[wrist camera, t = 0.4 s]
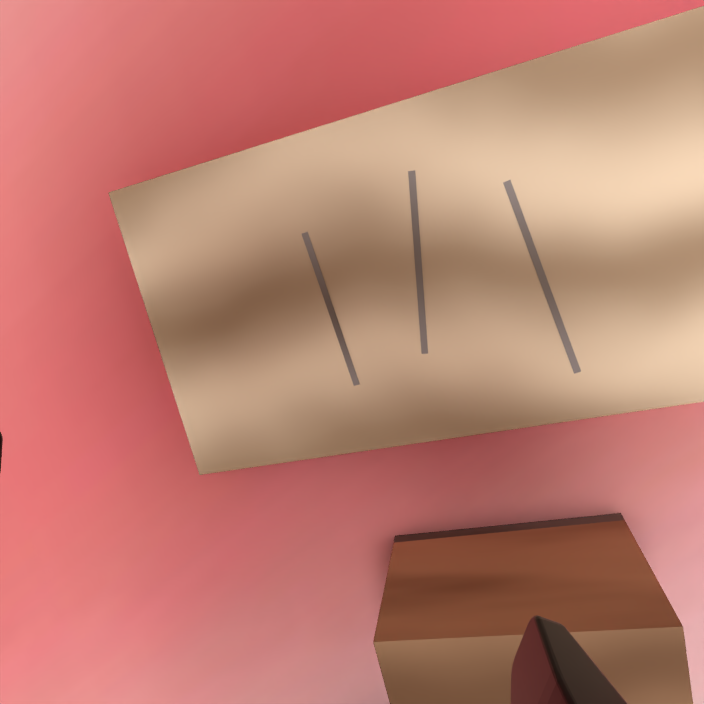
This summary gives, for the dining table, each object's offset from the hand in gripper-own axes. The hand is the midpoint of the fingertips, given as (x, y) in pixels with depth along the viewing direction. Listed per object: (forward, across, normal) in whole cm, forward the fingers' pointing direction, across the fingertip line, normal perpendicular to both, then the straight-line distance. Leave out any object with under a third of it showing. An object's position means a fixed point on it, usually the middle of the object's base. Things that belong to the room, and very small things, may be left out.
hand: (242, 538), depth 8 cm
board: (+13, -1, -3) cm, 13 cm away
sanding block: (+13, -8, +8) cm, 17 cm away
